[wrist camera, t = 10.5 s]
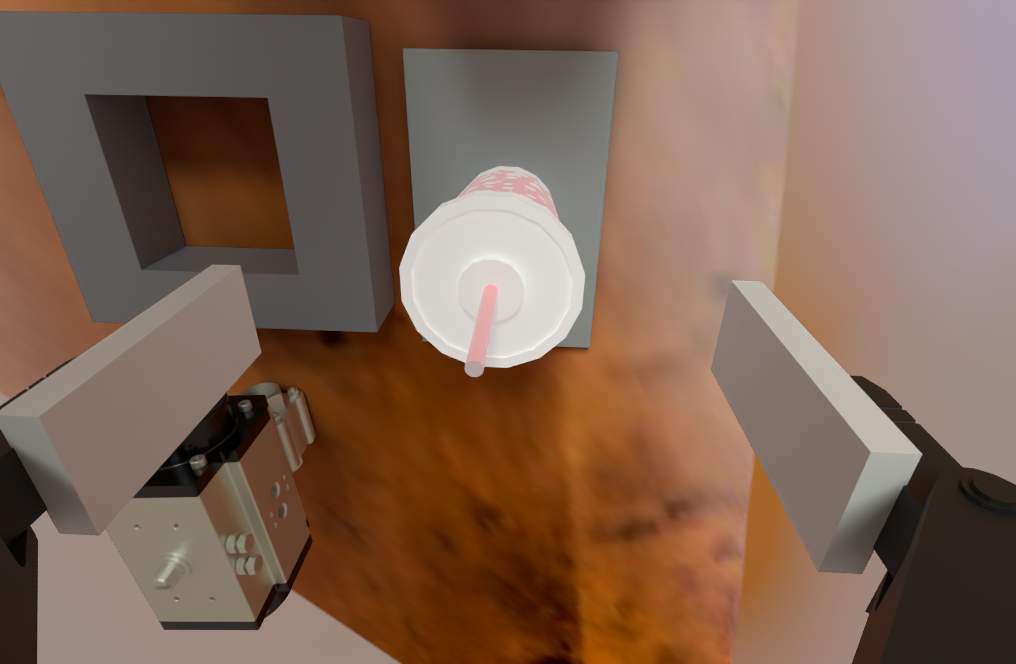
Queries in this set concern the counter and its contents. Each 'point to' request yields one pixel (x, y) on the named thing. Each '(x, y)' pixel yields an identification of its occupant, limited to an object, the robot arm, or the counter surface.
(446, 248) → the beverage cup
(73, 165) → the socket block
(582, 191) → the rubber mat
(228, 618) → the pneumatic valve
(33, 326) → the counter surface
